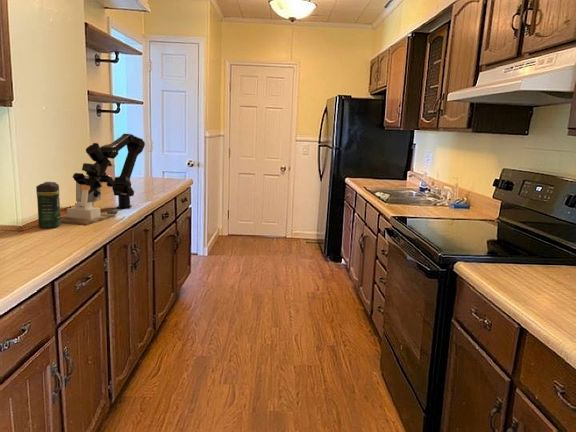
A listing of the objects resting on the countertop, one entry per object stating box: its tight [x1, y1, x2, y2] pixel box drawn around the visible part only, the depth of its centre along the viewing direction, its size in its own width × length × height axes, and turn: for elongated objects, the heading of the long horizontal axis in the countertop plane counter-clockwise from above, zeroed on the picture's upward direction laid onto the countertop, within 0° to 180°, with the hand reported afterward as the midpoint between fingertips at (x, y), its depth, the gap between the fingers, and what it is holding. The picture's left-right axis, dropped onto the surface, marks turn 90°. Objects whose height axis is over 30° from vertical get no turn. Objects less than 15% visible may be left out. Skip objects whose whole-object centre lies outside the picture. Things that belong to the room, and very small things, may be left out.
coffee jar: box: [35, 181, 62, 229], centre depth 186 cm, size 10×8×19 cm
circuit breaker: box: [76, 182, 102, 207], centre depth 229 cm, size 8×14×15 cm, turn 78°
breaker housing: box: [66, 202, 102, 219], centre depth 203 cm, size 7×12×6 cm, turn 77°
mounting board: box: [61, 212, 116, 226], centre depth 204 cm, size 20×18×1 cm
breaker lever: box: [80, 185, 90, 208], centre depth 203 cm, size 2×3×10 cm, turn 77°
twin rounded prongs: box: [106, 208, 119, 215], centre depth 217 cm, size 7×12×2 cm, turn 77°
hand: (86, 194), depth 204 cm, fingers closed, pressing on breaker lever
